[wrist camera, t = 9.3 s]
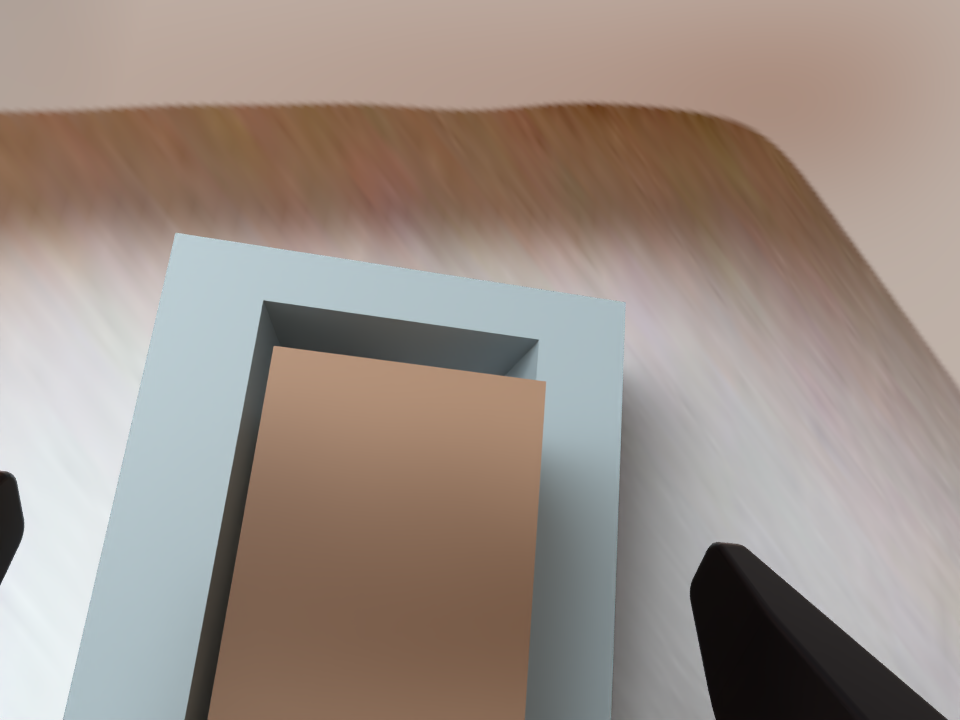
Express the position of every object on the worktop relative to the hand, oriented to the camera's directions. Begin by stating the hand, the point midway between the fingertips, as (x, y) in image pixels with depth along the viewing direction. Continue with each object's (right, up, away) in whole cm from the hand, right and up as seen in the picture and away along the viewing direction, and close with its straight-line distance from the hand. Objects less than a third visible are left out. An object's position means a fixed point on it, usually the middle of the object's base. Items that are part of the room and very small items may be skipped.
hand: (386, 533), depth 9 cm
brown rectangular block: (-2, -4, +8) cm, 10 cm away
